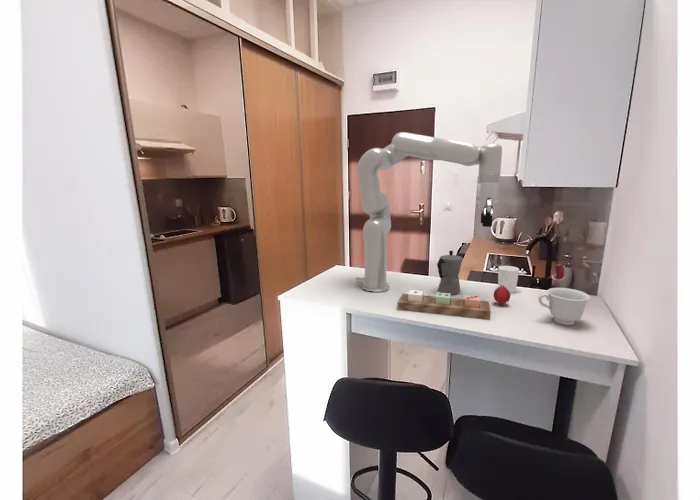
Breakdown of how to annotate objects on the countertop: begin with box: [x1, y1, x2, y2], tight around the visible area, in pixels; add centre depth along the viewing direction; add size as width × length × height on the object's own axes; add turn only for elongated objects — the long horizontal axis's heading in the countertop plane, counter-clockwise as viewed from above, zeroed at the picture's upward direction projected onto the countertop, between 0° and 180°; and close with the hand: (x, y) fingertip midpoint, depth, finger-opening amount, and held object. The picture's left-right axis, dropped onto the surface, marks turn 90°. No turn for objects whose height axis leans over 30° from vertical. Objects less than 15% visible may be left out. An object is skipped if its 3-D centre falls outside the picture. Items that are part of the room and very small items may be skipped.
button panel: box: [397, 293, 492, 321], centre depth 123 cm, size 32×10×3 cm, turn 72°
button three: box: [463, 294, 481, 308], centre depth 119 cm, size 5×5×3 cm
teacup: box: [537, 287, 591, 326], centre depth 110 cm, size 12×15×10 cm
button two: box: [435, 291, 452, 305], centre depth 122 cm, size 5×5×3 cm
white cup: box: [497, 265, 520, 294], centre depth 141 cm, size 8×8×10 cm
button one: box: [407, 289, 424, 302], centre depth 125 cm, size 5×5×3 cm
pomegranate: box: [493, 285, 511, 306], centre depth 126 cm, size 6×6×8 cm
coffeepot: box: [436, 250, 463, 296], centre depth 139 cm, size 15×9×18 cm, turn 129°
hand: (485, 224), depth 127 cm, fingers open, 9 cm apart
